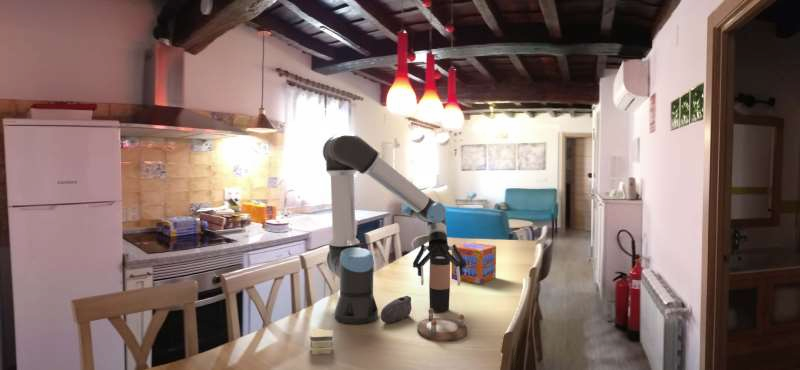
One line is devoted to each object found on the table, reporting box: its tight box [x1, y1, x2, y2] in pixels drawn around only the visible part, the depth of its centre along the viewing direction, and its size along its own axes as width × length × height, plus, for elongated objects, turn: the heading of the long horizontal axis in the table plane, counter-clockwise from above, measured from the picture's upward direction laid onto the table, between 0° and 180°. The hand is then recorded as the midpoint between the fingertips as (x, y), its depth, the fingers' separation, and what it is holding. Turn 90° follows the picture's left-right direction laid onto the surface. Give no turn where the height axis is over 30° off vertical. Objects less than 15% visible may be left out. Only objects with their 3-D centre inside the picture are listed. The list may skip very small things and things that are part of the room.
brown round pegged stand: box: [416, 307, 468, 343], centre depth 134 cm, size 16×16×6 cm
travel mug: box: [428, 254, 451, 314], centre depth 154 cm, size 8×8×20 cm
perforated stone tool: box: [380, 295, 413, 324], centre depth 144 cm, size 15×5×7 cm, turn 136°
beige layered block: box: [309, 328, 335, 355], centre depth 120 cm, size 10×9×6 cm
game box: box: [451, 241, 497, 285], centre depth 199 cm, size 16×16×16 cm
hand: (440, 283), depth 153 cm, fingers open, 13 cm apart
